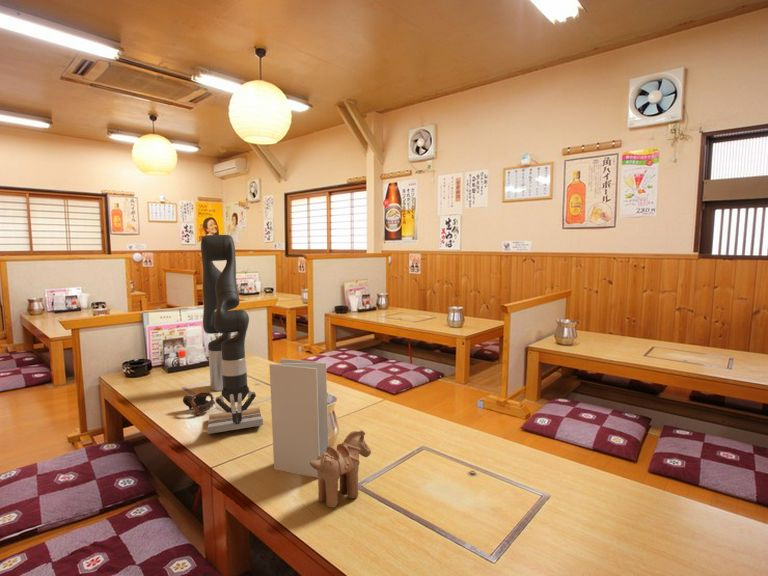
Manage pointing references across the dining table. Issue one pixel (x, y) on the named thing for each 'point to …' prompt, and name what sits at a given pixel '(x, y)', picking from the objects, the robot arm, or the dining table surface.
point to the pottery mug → (199, 402)
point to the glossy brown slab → (228, 416)
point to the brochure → (298, 414)
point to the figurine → (340, 468)
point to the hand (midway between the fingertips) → (237, 423)
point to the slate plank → (234, 425)
